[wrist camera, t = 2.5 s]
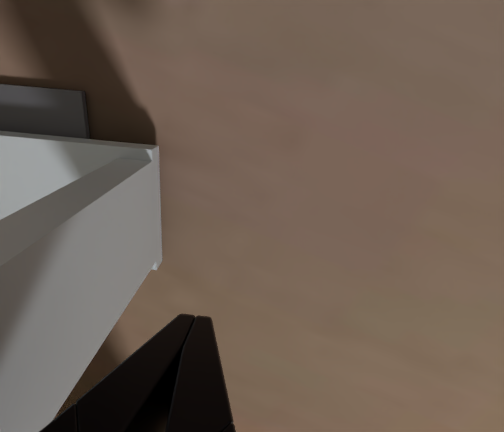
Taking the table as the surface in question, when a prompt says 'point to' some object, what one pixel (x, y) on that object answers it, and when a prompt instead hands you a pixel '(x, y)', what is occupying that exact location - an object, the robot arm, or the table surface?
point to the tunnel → (43, 111)
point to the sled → (67, 260)
